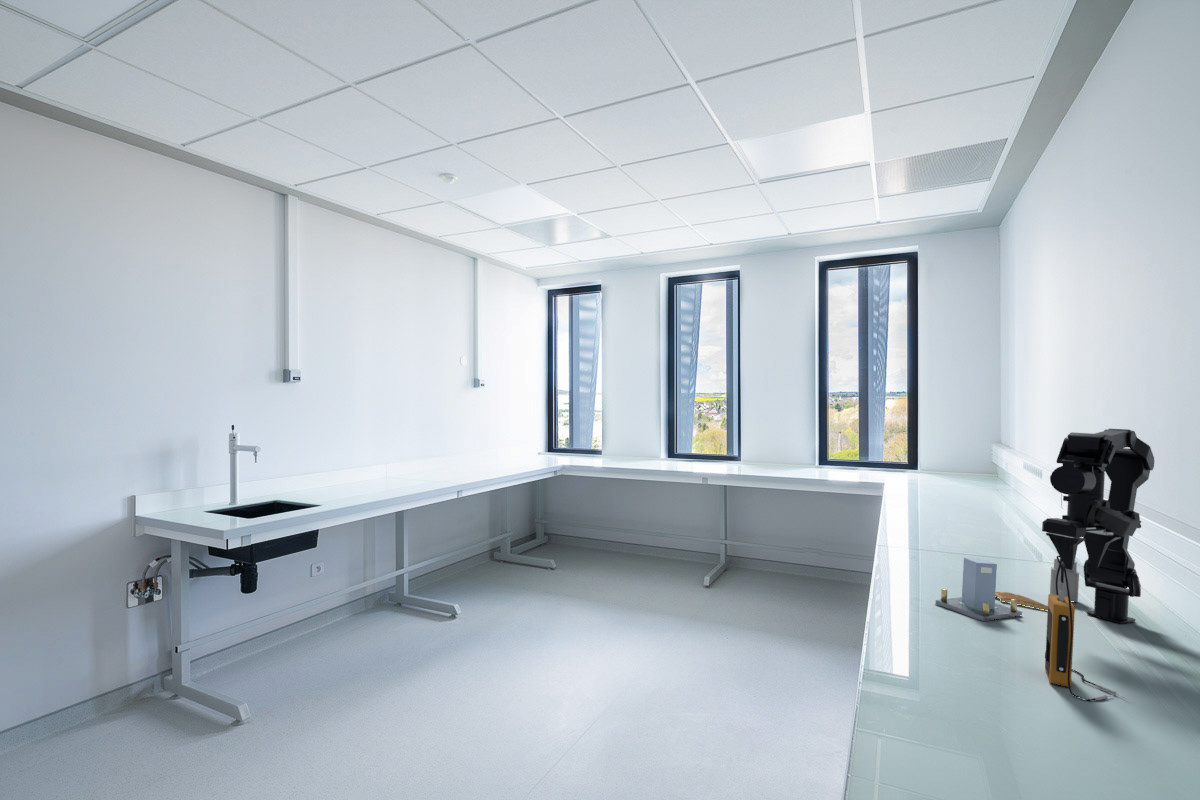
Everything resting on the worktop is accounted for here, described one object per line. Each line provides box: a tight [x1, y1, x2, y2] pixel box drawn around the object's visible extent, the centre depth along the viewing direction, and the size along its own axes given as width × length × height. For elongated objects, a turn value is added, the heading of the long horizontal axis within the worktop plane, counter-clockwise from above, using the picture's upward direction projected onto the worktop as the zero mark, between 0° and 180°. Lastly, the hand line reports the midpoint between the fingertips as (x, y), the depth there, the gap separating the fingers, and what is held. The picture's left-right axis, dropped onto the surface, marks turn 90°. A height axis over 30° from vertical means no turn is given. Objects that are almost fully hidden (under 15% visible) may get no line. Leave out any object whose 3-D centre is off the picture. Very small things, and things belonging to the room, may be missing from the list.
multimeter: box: [1044, 555, 1129, 701], centre depth 95 cm, size 15×10×20 cm
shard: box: [995, 591, 1048, 610], centre depth 138 cm, size 11×8×2 cm
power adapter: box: [1049, 558, 1080, 603], centre depth 145 cm, size 3×5×12 cm, turn 51°
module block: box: [961, 557, 998, 609], centre depth 132 cm, size 4×5×10 cm
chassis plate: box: [935, 588, 1023, 622], centre depth 132 cm, size 13×11×4 cm
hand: (1082, 568), depth 122 cm, fingers open, 9 cm apart
